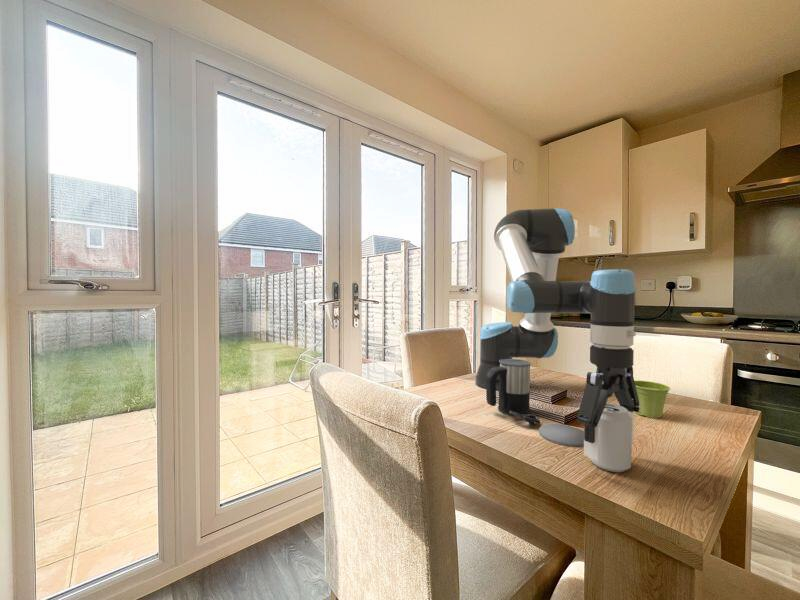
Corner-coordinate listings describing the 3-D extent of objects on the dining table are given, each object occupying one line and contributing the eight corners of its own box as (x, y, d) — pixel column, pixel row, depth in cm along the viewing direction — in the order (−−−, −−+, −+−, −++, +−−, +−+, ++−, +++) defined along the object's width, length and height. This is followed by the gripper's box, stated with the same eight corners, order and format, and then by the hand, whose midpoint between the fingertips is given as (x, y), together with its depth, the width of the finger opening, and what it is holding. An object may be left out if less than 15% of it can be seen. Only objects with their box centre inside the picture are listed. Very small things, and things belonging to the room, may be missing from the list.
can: (635, 464, 70) (636, 406, 69) (625, 479, 65) (627, 416, 64) (594, 452, 75) (595, 398, 75) (583, 464, 70) (584, 406, 70)
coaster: (530, 433, 85) (530, 429, 85) (556, 423, 91) (556, 420, 91) (572, 450, 76) (572, 447, 76) (598, 438, 82) (598, 435, 82)
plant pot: (655, 409, 102) (656, 380, 102) (677, 421, 92) (678, 390, 92) (622, 408, 103) (622, 380, 102) (641, 420, 93) (641, 389, 93)
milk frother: (510, 403, 107) (511, 357, 107) (558, 419, 95) (559, 366, 94) (480, 413, 99) (481, 362, 99) (529, 431, 86) (529, 373, 86)
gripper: (598, 355, 59) (596, 474, 60) (659, 342, 73) (657, 440, 73) (557, 348, 65) (556, 457, 66) (621, 338, 79) (619, 428, 80)
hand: (609, 448), depth 70 cm, fingers open, 13 cm apart
